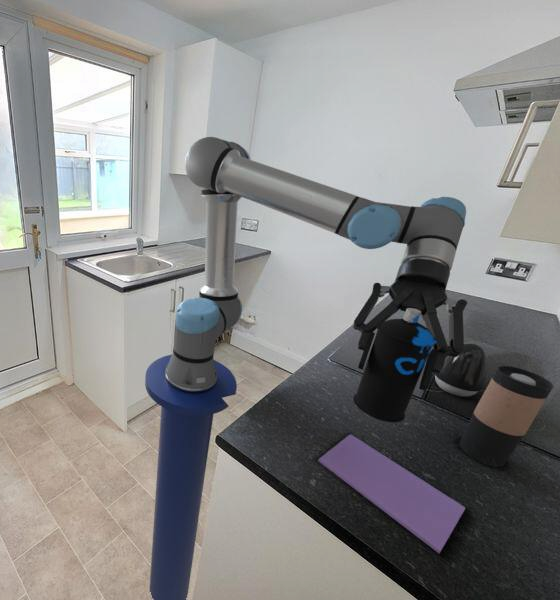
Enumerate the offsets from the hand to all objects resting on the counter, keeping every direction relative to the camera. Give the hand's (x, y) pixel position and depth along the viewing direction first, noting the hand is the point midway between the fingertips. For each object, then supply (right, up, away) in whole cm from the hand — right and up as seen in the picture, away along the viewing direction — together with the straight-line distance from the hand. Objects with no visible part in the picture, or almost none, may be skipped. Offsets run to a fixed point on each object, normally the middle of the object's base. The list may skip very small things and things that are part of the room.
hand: (390, 376), depth 53 cm
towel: (+4, -22, +6) cm, 23 cm away
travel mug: (+31, -21, +15) cm, 40 cm away
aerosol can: (+2, -7, +6) cm, 9 cm away
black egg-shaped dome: (+44, -13, +36) cm, 59 cm away
